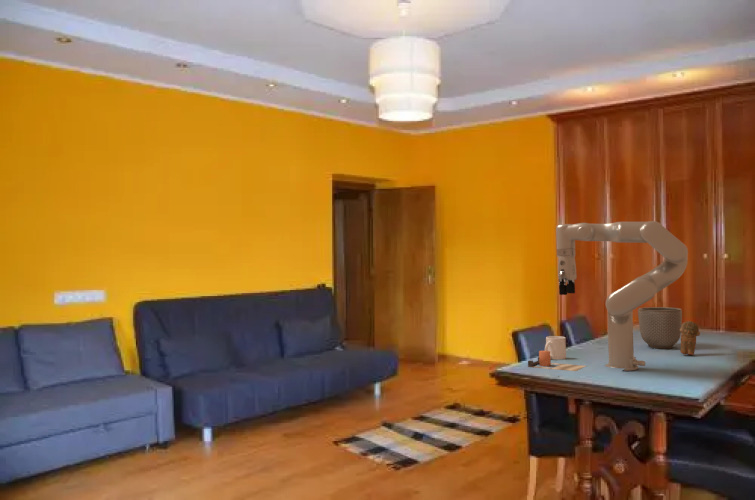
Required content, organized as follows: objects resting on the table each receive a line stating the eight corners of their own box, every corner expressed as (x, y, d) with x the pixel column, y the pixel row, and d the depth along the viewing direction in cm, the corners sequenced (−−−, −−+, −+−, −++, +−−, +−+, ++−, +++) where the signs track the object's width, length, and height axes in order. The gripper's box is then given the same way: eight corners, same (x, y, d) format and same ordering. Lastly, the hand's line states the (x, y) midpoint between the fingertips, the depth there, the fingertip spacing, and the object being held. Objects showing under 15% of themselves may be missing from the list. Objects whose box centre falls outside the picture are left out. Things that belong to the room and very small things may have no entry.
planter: (690, 350, 291) (689, 309, 292) (649, 351, 292) (647, 310, 292) (671, 344, 311) (670, 306, 311) (632, 345, 311) (631, 307, 312)
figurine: (680, 356, 275) (679, 322, 276) (679, 353, 283) (678, 320, 283) (702, 356, 272) (700, 323, 272) (700, 354, 280) (698, 321, 280)
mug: (553, 363, 265) (552, 339, 265) (537, 361, 271) (536, 338, 271) (569, 360, 272) (569, 337, 272) (554, 358, 279) (553, 335, 279)
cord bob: (552, 367, 255) (551, 351, 255) (548, 369, 252) (547, 352, 252) (541, 367, 258) (541, 350, 258) (537, 368, 254) (537, 351, 254)
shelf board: (586, 368, 251) (586, 359, 251) (576, 374, 241) (575, 364, 241) (539, 364, 263) (539, 356, 263) (527, 369, 253) (527, 360, 253)
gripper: (568, 253, 250) (569, 295, 250) (581, 253, 264) (582, 292, 264) (550, 253, 254) (551, 295, 254) (564, 253, 268) (565, 292, 268)
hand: (567, 294), depth 259 cm, fingers open, 9 cm apart
